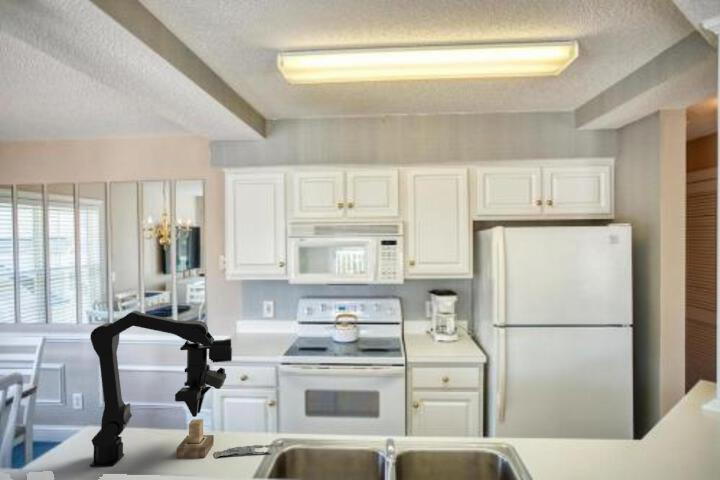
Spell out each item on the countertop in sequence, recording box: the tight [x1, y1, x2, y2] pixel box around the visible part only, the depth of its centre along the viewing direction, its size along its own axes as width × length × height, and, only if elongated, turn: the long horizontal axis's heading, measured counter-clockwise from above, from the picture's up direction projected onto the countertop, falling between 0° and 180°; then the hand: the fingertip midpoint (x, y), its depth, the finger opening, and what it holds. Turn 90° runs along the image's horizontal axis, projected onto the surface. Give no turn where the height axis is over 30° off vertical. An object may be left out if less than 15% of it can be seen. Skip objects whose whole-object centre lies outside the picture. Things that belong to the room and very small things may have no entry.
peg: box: [188, 418, 204, 444], centre depth 126 cm, size 3×3×9 cm
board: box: [176, 434, 215, 459], centre depth 126 cm, size 8×8×3 cm
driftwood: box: [213, 441, 284, 459], centre depth 126 cm, size 21×7×2 cm, turn 98°
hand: (196, 414), depth 126 cm, fingers open, 3 cm apart
